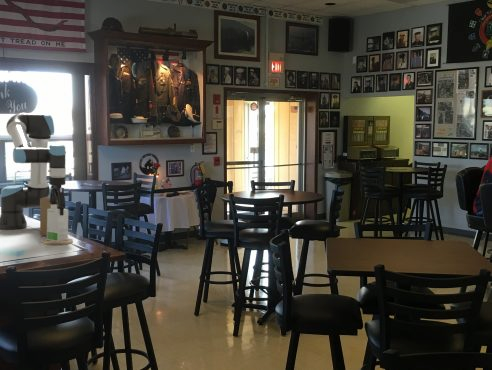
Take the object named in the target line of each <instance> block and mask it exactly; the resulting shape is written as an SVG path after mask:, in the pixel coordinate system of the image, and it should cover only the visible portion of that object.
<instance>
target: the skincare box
mask: <svg viewBox="0 0 492 370" xmlns="http://www.w3.org/2000/svg"><path fill="white" fill-rule="evenodd" d="M68 231H69V209H68V208H65V209H64V222H58V209H57V208H51V209H47V236H46V239H47V240H50V241H56V242H61V241H66V240H68V238H69V237H68V236H69V232H68Z"/></svg>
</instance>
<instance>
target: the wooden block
mask: <svg viewBox="0 0 492 370" xmlns="http://www.w3.org/2000/svg"><path fill="white" fill-rule="evenodd" d="M64 198H65V199H66V196H64ZM51 205H52V204H50V196H48V197H44V198H41V199H40V208H39V216H40V217H39V221H40V223H39V228H40V229H39V231H40V233H39V234H40V236H41V237H47V209H51ZM57 208H58V202H57ZM64 209H66V207H65V208H64Z"/></svg>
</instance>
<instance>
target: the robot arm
mask: <svg viewBox="0 0 492 370" xmlns="http://www.w3.org/2000/svg"><path fill="white" fill-rule="evenodd" d="M5 129H6V132H7V134H8V135H9V136H11V140H12V143H13V145H14V148H13V150H12V151H13V152H12V158H13V163H15V164H30V177H29V179H30V181H29V182H28V183H27V186H26V187H24V185H23V184H20V185H19V184H18V185H10V186H5V187H2V188H1V190H0V230H21V229H25V228H27V227H28V223H27V219H26V216H25V214H24V209H38V208H39V209H40V199H41V198H44V197H48V196H50V204H52V205H51V208H57V202H58V208H57V209H58V222H64V208H65V209H66V197H65V191H64V187H62V186H65V185H66V175H67V174H66V173H67V171H66V153H67V152H66V146H65V145H64V144H50V145H49V147H48V142H49V140H51V138H52V136H54V134H55V123H54V119H53V117H52V115H50V113H43V112H42V113H40V112H39V113H38V112H36V113H33V112H28V113H27V112H19V113H16V114H14V115H12V116H11V117H10V118H9V119H8V120H7V122H6V128H5ZM30 141H31V142H30ZM48 168H49V169H48ZM47 174H48V175H49V178H48V180H49V181H47V176H48V175H47ZM64 197H65V198H64Z"/></svg>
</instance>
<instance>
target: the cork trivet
mask: <svg viewBox="0 0 492 370" xmlns="http://www.w3.org/2000/svg"><path fill="white" fill-rule="evenodd" d="M73 241H74V239H73V238H69V237H68V240H66V241H61V242H56V241H50V240H47V238H45V239H43V240H42V244H43V245H47V246H64V244H65V245H69V243H70V244H72V243H73Z"/></svg>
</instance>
